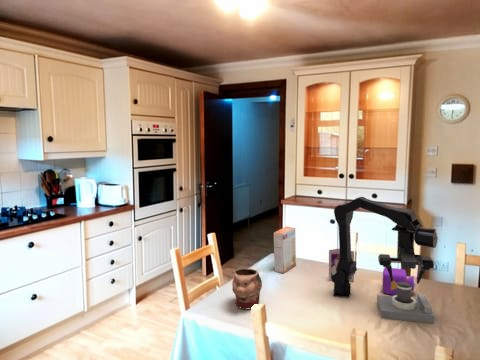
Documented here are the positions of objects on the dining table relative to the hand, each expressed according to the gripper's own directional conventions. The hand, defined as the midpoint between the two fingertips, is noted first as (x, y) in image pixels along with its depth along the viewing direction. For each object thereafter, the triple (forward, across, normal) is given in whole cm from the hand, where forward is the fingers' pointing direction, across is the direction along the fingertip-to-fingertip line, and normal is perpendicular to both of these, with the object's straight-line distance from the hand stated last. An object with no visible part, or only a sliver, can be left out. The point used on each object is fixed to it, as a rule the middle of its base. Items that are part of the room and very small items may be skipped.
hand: (404, 282), depth 139 cm
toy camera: (+12, +1, +19) cm, 23 cm away
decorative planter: (+12, -61, -5) cm, 62 cm away
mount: (+12, 0, 0) cm, 12 cm away
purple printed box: (+12, -23, +29) cm, 39 cm away
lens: (+9, 0, 0) cm, 9 cm away
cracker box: (+12, -51, +38) cm, 65 cm away
